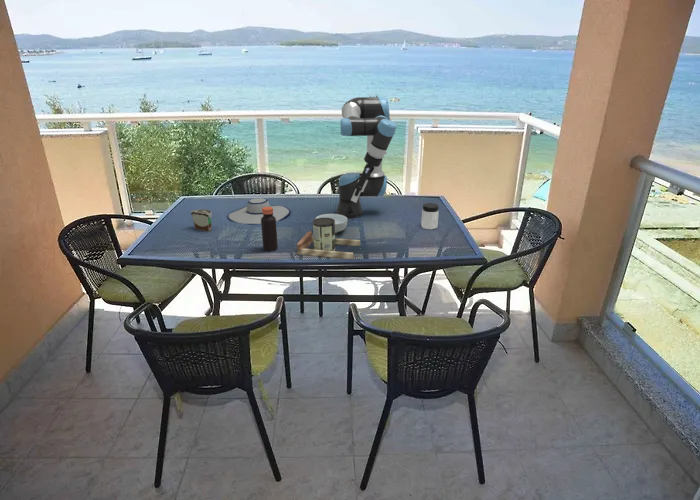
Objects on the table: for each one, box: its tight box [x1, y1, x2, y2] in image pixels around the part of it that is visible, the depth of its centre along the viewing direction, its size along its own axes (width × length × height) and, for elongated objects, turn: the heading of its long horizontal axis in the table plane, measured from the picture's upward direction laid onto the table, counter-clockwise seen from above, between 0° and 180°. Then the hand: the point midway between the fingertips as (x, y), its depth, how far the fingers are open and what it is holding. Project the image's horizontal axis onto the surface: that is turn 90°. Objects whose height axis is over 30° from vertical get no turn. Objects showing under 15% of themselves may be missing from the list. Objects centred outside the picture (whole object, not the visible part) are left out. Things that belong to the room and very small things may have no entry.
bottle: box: [261, 207, 279, 252], centre depth 209 cm, size 7×7×20 cm
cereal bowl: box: [314, 213, 348, 234], centre depth 232 cm, size 17×17×7 cm
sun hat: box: [226, 197, 292, 226], centre depth 258 cm, size 36×36×9 cm
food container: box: [190, 208, 213, 233], centre depth 236 cm, size 12×6×10 cm, turn 65°
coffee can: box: [312, 218, 336, 251], centre depth 209 cm, size 10×10×14 cm
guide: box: [296, 230, 361, 260], centre depth 210 cm, size 26×17×5 cm, turn 78°
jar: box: [420, 202, 439, 230], centre depth 237 cm, size 9×8×12 cm
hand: (356, 196), depth 206 cm, fingers open, 13 cm apart
